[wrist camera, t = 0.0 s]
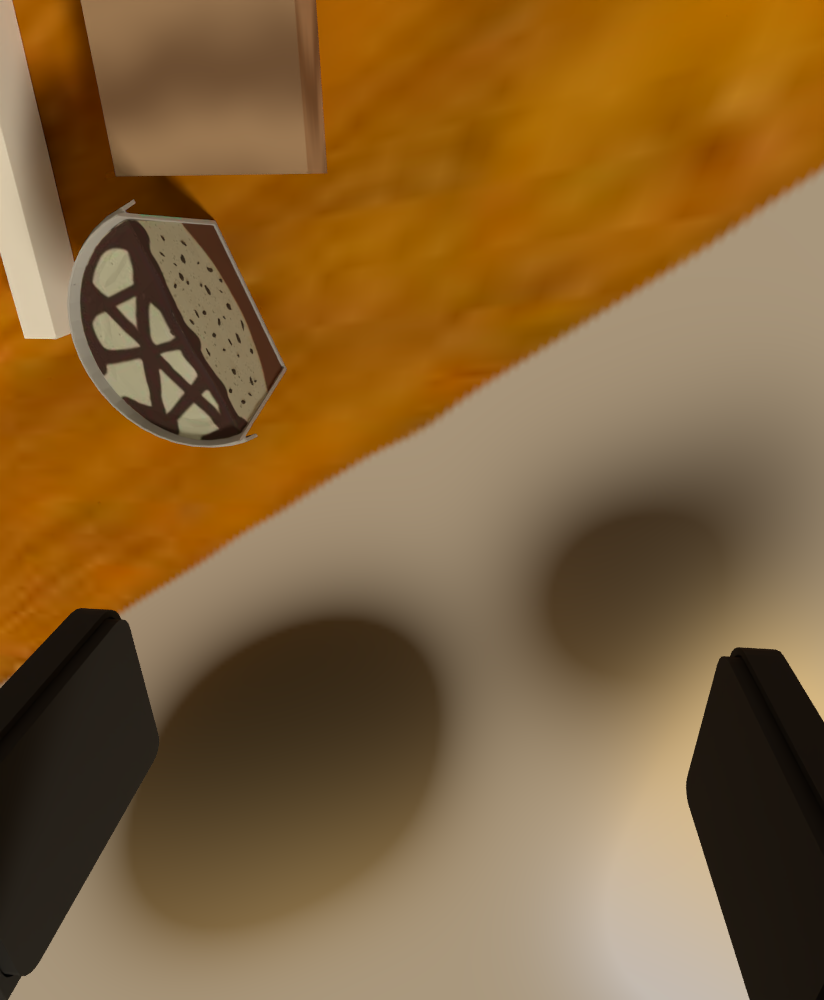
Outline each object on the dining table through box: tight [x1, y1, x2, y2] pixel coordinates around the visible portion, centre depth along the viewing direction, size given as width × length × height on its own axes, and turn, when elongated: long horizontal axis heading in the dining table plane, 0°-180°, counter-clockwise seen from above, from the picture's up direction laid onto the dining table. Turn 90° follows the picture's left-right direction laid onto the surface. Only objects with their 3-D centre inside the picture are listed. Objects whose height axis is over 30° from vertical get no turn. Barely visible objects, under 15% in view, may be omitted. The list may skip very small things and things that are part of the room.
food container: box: [67, 199, 287, 447], centre depth 35 cm, size 12×6×10 cm, turn 22°
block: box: [81, 0, 327, 176], centre depth 32 cm, size 9×10×4 cm
